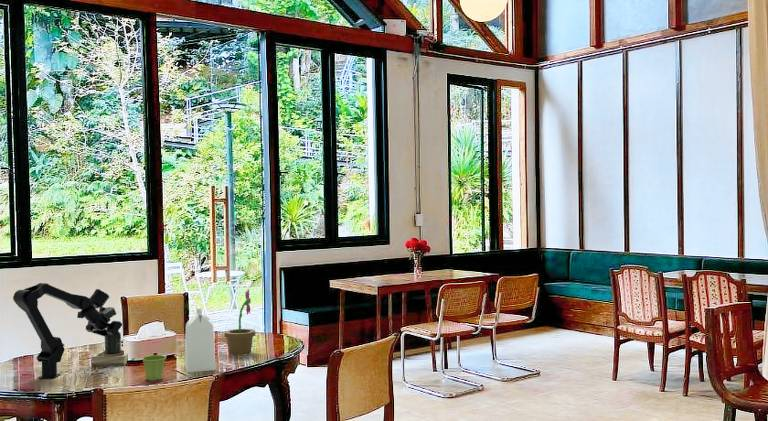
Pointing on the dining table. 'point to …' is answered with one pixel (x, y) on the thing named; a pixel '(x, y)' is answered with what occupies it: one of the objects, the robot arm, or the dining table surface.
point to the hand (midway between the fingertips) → (115, 337)
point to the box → (109, 359)
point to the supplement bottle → (112, 344)
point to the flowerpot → (240, 334)
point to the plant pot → (154, 366)
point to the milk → (199, 344)
